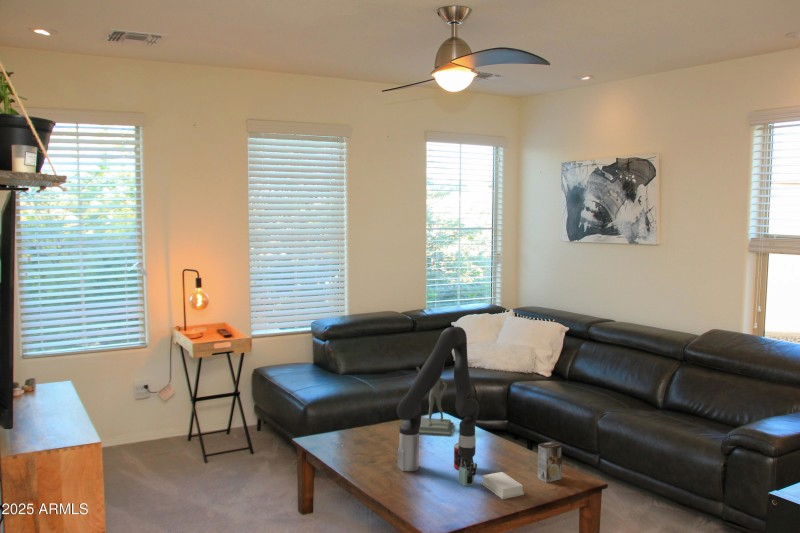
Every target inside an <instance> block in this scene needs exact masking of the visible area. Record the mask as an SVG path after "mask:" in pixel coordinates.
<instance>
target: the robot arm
mask: <svg viewBox="0 0 800 533" xmlns="http://www.w3.org/2000/svg"><path fill="white" fill-rule="evenodd" d="M439 335H440V336H439V338H438V339H437V342H436V344H435V346H434V349H433V350H432V352H431V353H430V355H428V358H427V359H426V361H425V363H424V364H423V365H422V367H421V368H420V372H418V374H417V375H416V377H415V378H414V380H413V382H412V385H411V386H410V388H409V390H408V392H407V393H406V394H405V396H404V397H403V398H402V399H401V400H400V401H399V403H398V405H397V406H396V413H397V414H396V415H397V416H398V418H399V419H400V420H402V421H401V423H400V425H399V432H398V433H399V434H398V435H399V438H398V439H399V445H398V447H397V468H398V469H399V470H401V471H402V472H414V471H417V470H419V468H420V434H419V428H420V425H421V420H422V405H421V402H422V400H423V399H424V398H425V397H426V396H427V395H428V394H429V393H430V390H431V389H432V388H433V387H434V386H435V384H436V383H437V381H438V380H439V378H442V375H443V372H444V368H445V362H446V359H447V358H448V356H449V355H450V354H451V352H452V351H453V353H454V366H453V367H454V369H453V380H454V386H455V390H456V391H455V405H454V406H455V412H456V413H457V415H458V416H459V417H461V418H463V419H462V420H460V422H459V424H458V425H459V428H458V429H459V430H458V432H459V434H458V443H459V446H458V453H459V454H457V461H458V468H459V467H460V466H461V467H463V466H465V469H466V470H467V475H468V476H467V483H468V484H472V476H474V477H475V476H476V475H477V467H478V464H477V463H476V462H474V458H473V457H475V455H476V445H477V444H476V442H477V441H476V425H477V424H476V423H477V421H478V417H479V414H480V405H479V403H478V400H476V399H475V398H469V399H468V395H469V394H471V393H472V392H473V388H472V382H471V378H470V377H471V376H470V370H469V361H468V337H467V334H466V331H465V329H464V328H463V327H461V326H449V327H447V328H444V330H443V331H442V332H441V334H439ZM460 462H461V463H460ZM468 467H470V468H468ZM469 470H470V473H469Z"/></svg>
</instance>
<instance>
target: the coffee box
mask: <svg viewBox="0 0 800 533" xmlns="http://www.w3.org/2000/svg"><path fill="white" fill-rule="evenodd" d="M562 476H563V444H561V443H559V442H556V441H554V440H551V441H547V442H543V443H538V444H537V478H538V479H539V480H540V481H542V482H545V483H551V482H554V481H558V480H562V478H563V477H562Z"/></svg>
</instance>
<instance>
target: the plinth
mask: <svg viewBox="0 0 800 533" xmlns="http://www.w3.org/2000/svg"><path fill="white" fill-rule="evenodd" d="M480 484H481V485H482V486H483V487H484V488H486V489H488V490H489V491H490V492H492V493H493V494H495V496H497V497H498V498H500V499H501V500H505V499H511V498H515V497H516V498H517V497H519V496H524V495H525V492H524V491H523V489H524V488H523V487H524V486H523V484H521V483H520V482H518V481H516V479H513V478H512V477H511V476H509V475H508V474H506V473H505V472H503V471H500V472H495V473H493V472H492V473H490V474H489V473H488V474H483V475H482V481H481V483H480Z"/></svg>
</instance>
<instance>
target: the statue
mask: <svg viewBox="0 0 800 533" xmlns="http://www.w3.org/2000/svg"><path fill="white" fill-rule="evenodd" d="M415 368H416V371H417V372H418V373H419V372H420V370H421V368H420V367H419V366H416V367H415ZM441 385H443V389H442V391H441V392H440V386H441ZM447 387H448V384H447V382H446V381H445V380H444V378H442V377H440V378H439V380H438V381H437V383H436V384H435V386H434V387H433V388H432V389H431V390H430V391H429V396H428V406H429V409H428V418H427V417H421V425H420V428H419V436H420V435H422V436H424V435H425V436H436V437H437V436H438V437H440V436H441V437H451V436H452V433H453V429H454V425H455V423H454V422H453V421H451V419H447V418H444V415H443V407H442V398H443V396H444V393H445V392H446V390H447ZM434 405H436V407H437V410H438V411H439V415H440V418H432V415H433V407H434Z"/></svg>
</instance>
